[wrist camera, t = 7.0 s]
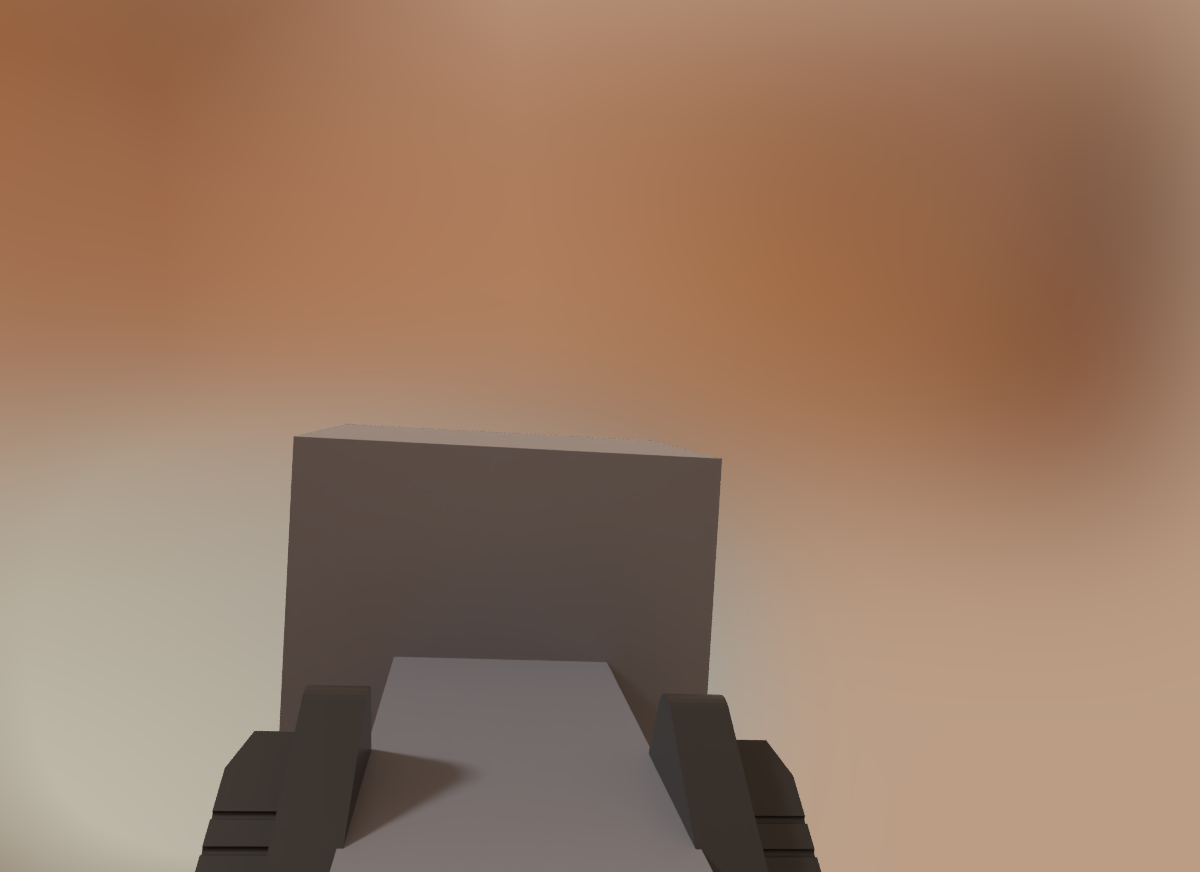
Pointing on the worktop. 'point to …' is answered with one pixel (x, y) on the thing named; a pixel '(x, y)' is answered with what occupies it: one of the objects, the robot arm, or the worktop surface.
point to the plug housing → (503, 639)
